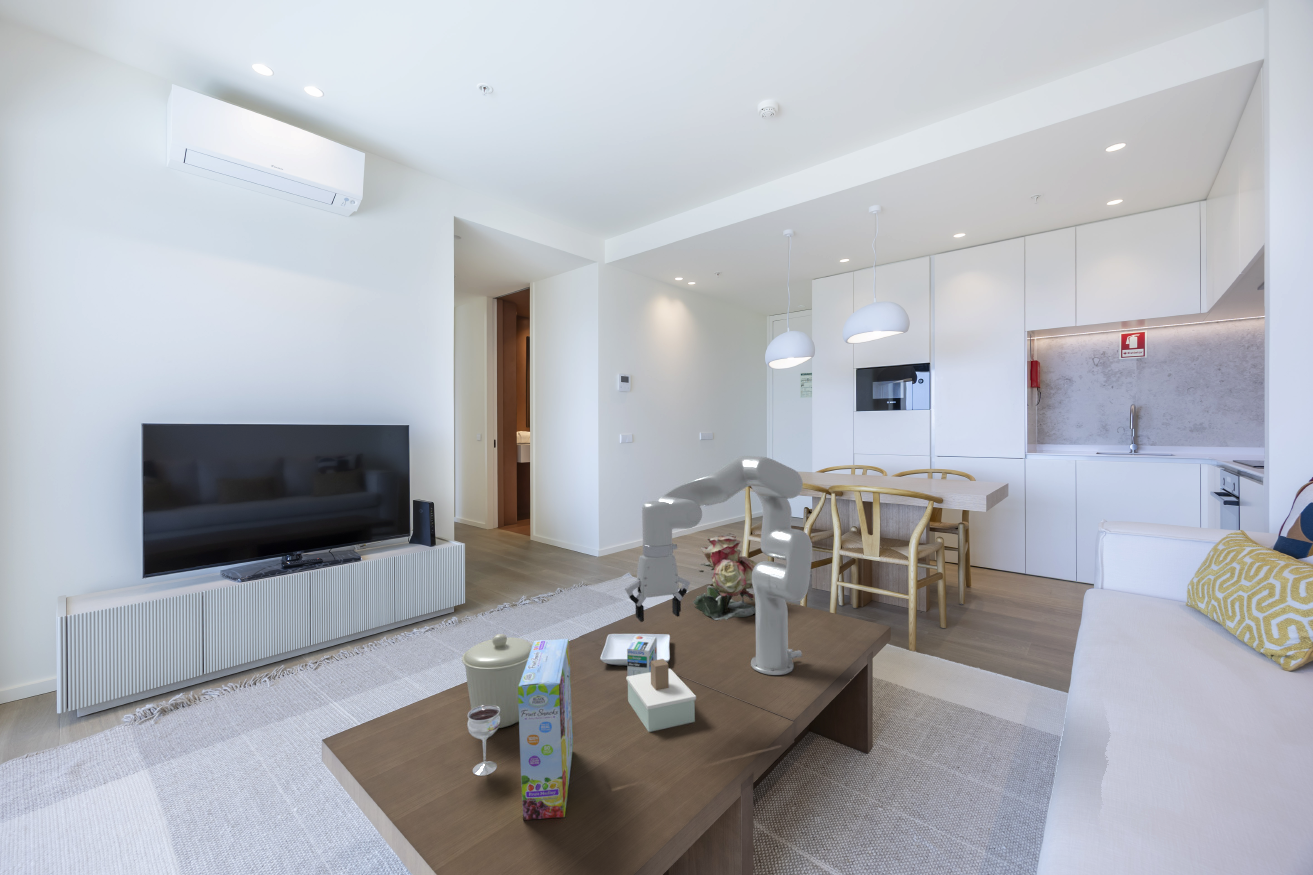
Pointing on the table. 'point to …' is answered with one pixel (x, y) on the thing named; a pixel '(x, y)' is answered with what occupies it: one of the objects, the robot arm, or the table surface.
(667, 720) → the box
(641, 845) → the table surface
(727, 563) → the rose bouquet
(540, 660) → the snack box
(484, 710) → the wineglass
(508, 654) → the canister
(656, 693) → the lid
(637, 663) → the light bulb box
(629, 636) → the salad plate
